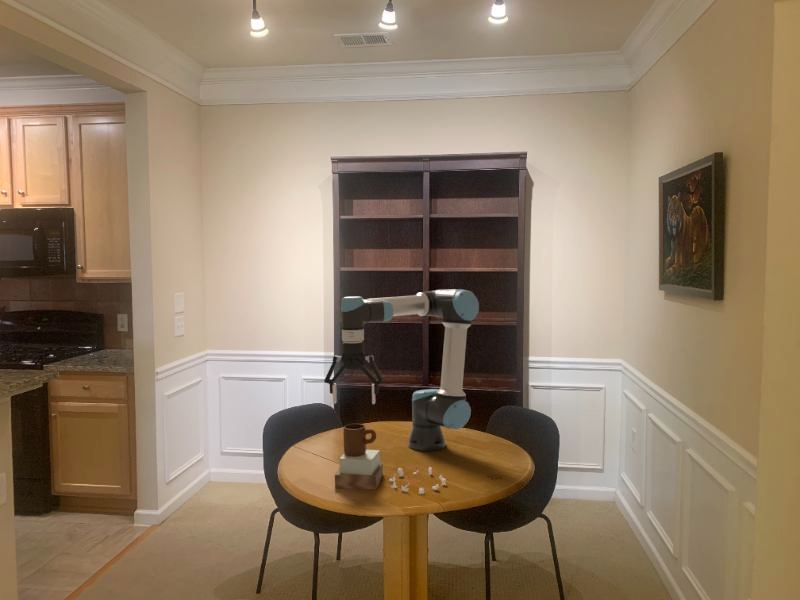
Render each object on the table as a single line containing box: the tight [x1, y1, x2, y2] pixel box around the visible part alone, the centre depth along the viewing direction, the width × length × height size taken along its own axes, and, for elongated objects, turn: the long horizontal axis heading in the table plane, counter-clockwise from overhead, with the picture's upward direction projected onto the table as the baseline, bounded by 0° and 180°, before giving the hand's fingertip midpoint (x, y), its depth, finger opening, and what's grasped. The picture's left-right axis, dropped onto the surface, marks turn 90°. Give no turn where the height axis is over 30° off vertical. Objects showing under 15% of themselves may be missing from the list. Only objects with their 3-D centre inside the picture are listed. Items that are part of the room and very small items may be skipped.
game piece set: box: [388, 466, 447, 495], centre depth 197 cm, size 19×20×4 cm
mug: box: [343, 423, 377, 456], centre depth 198 cm, size 12×8×9 cm, turn 66°
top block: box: [339, 449, 381, 475], centre depth 199 cm, size 11×11×5 cm
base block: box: [334, 461, 384, 491], centre depth 199 cm, size 14×14×5 cm
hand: (354, 403), depth 200 cm, fingers open, 13 cm apart
